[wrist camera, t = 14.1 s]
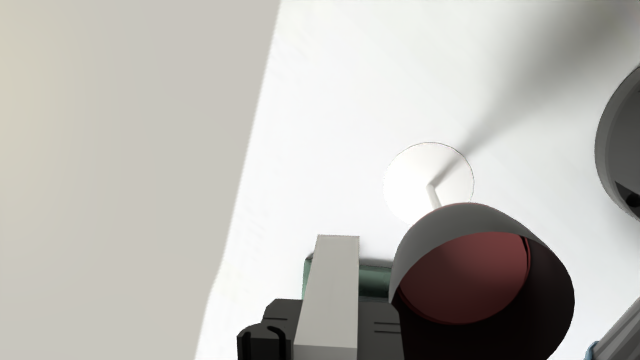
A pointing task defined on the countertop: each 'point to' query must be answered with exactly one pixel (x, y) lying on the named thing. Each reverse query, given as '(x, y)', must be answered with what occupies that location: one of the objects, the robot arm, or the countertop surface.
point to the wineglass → (469, 269)
